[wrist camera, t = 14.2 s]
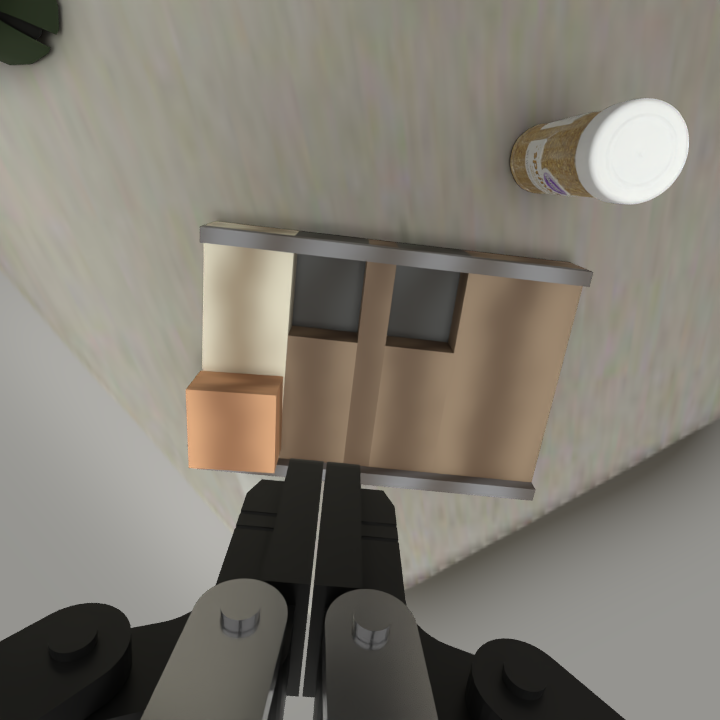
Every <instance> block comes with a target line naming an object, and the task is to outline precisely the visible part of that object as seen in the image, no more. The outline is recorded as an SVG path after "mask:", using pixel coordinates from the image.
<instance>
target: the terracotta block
mask: <svg viewBox="0 0 720 720" xmlns="http://www.w3.org/2000/svg"><path fill="white" fill-rule="evenodd" d="M282 400H283V376H271V375H256V374H242V373H227V372H213V371H200V372H199V373H198V375H197V376H196V377H195V378H194V380H193V381H192V382H191V384H190V385H189V386H188V387H187V389H186V407H187V433H188V459H189V468H198V469H214V470H230V471H246V472H262V473H275V469H276V465H277V462H278V458H279V454H280V451H281V433H282Z"/></svg>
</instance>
